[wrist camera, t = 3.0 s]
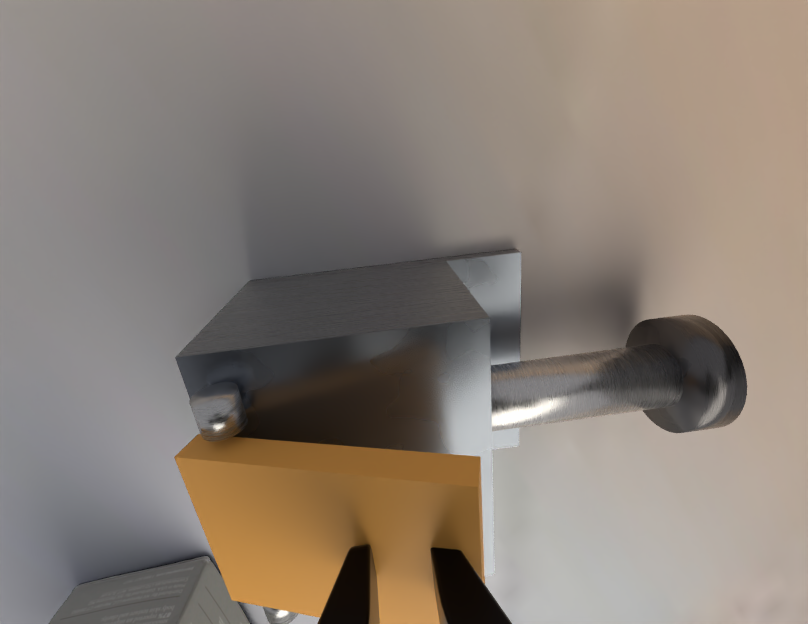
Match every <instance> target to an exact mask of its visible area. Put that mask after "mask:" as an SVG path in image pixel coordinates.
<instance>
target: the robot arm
mask: <svg viewBox="0 0 808 624" xmlns="http://www.w3.org/2000/svg"><path fill="white" fill-rule="evenodd" d="M430 551H431V561H432V570H433V580H434V589H435V596H436V602H437V609H438V615H439V621H440V624H512V623H511V622H510V620H509V619H508V617H507V616H506V614H505V613H504V612H503V610H502V609H501V607H500V606H499V604H498V603H497V601H496V600H495V599H494V597H493V596H492V594H491V593H490V591H489V590H488V588H487V587H486V586H485V584H484V583H483V581H482V580H481V578H480V577H479V575H478V574H477V573H476V571H475V570H474V568H473V567H472V565H471V564H470V562H469V561H468V560H467V558H466V557H465V555H464V554H463V552H462V551H461V550H457V549H447V548H436V547H432V548H431V549H430ZM318 624H380V618H379V602H378V587H377V576H376V570H375V564H374V559H373V553H372V548H371V546H370V545H368V544H365V545H359V546H353V547H351V548H350V549H349V551H348V553H347V555H346V557H345V560H344V562H343V565H342V567H341V569H340V572H339V574H338V576H337V579H336V581H335V583H334V586H333V588H332V591H331V593H330V595H329V598H328V600H327V602H326V605H325V607H324V609H323V612H322V614H321V617H320V619H319V621H318Z"/></svg>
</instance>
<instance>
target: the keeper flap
mask: <svg viewBox="0 0 808 624" xmlns="http://www.w3.org/2000/svg"><path fill="white" fill-rule="evenodd" d="M174 458H175V460H176V463H177V465H178V468H179V470H180V473H181V475H182V478H183V480H184V483H185V485H186V488H187V490H188V493H189V495H190V498H191V500H192V503H193V505H194V508H195V510H196V513H197V515H198V518H199V520H200V523H201V525H202V528H203V530H204V532H205V535H206V537H207V540H208V542H209V545H210V547H211V550H212V552H213V555H214V557H215V560H216V562H217V565H218V567H219V570H220V572H221V575H222V577H223V580H224V582H225V585H226V587H227V590H228V592H229V595H230V597H231V600H233V601H238V602H243V603H248V604H254V605H259V606H264V607H269V608H274V609H279V610H284V611H289V612H294V613H299V614H305V615H310V616H315V617H321V614H322V612H323V609H324V607H325V605H326V602H327V600H328V598H329V595H330V593H331V591H332V588H333V586H334V583H335V581H336V579H337V576H338V574H339V572H340V569H341V567H342V565H343V562H344V560H345V557H346V555H347V553H348V551H349V549H350V548H351V547H353V546H359V545H365V544H368V545H370V546H371V548H372V553H373V559H374V564H375V570H376V576H377V587H378V602H379V618H380V624H440V621H439V615H438V609H437V602H436V596H435V589H434V580H433V570H432V561H431V551H430V549H431V548H432V547H436V548H447V549H457V550H461V551H462V552H463V554H464V555H465V557H466V558H467V560H468V561H469V562H470V564H471V565H472V567H473V568H474V570H475V571H476V573H477V574H478V575H479V577H480V578H481V580H482V581H483V583H484V584H485V575H484V546H483V516H482V487H481V458H480V456H467V455H455V454H442V453H430V452H417V451H405V450H392V449H379V448H367V447H354V446H342V445H329V444H317V443H304V442H292V441H279V440H267V439H254V438H242V437H230V438H228V439H225V440H221V441H216V442H210V441H206V440H204V439H203V438H202V436H201V434H198V435H197V436H196V437H195V438H194V439H193V440H192V441H191V442H190V443H188V444H187V445H186V446H185V447H184V448H183V449H182V450H181V451H180V452H179V453H178V454H177V455H176V456H175V457H174Z"/></svg>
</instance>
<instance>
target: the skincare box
mask: <svg viewBox="0 0 808 624" xmlns="http://www.w3.org/2000/svg"><path fill="white" fill-rule="evenodd" d="M49 624H250V623H249V621H248V619H247V617H246V616H245V614H244V612H243V610H242V609H241V607H240V605H239V604H238V602H237V601H233V600H231V597H230V595H229V592H228V590H227V587H226V585H225V582H224V580H223V578H222V576H221V575H220V573H219V572H218V571H217V569H216V567H215V566H214V564H213V563H212V562H211V560H210V559H209V557H208V556H204V557H200V558H195V559H191V560H186V561H182V562H178V563H174V564H169V565H165V566H161V567H156V568H152V569H147V570H142V571H137V572H132V573H127V574H123V575H119V576H113V577H109V578H105V579H101V580H96V581H93V582H89V583H85V584H81V585H78V586H77V587H75V588H74V589H73V591H72V593H71V594H70V596H69V597H68V598H67V600H66V601H65V602H64V604H63V605H62V606H61V607H60V609H59V610H58V611H57V613H56V614H55V615H54V617H53V618H52V620H51V621H50V622H49Z"/></svg>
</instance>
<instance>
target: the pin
mask: <svg viewBox="0 0 808 624" xmlns="http://www.w3.org/2000/svg"><path fill="white" fill-rule="evenodd" d="M746 395H747V381H746V374H745V369H744V366H743V363H742V360H741V358H740V356H739V353H738V351H737V350H736V348H735V346H734V345H733V343H732V342H731V340H730V339H729V338H728V336H727V335H726V334H725V333H724V332H723V331H722V330H721V329H720V328H719V327H718V326H716V325H715V324H714V323H712V322H710V321H709V320H707V319H705V318H702V317H700V316H696V315H680V316H672V317H664V318H657V319H649V320H645V321H642V322H640V323H639V324H637V325H636V326H635V327H634V328H633V330H632V331H631V333H630V335H629V337H628V340H627V343H626V348H618V349H611V350H603V351H596V352H588V353H580V354H573V355H565V356H558V357H550V358H542V359H535V360H527V361H520V362H512V363H505V364H497V365H491V406H492V431H498V430H505V429H512V428H519V427H527V426H534V425H541V424H548V423H555V422H562V421H570V420H577V419H584V418H591V417H598V416H605V415H613V414H620V413H627V412H634V411H641V410H643V412H644V413H645V414H646V415H647V416H648V417H649V418H650V419H651V420H652V421H653V422H654V423H655V424H656V425H658V426H659V427H661V428H662V429H664V430H666V431H669V432H673V433H684V432H691V431H698V430H705V429H712V428H719V427H723V426H726V425H728V424H730V423H732V422H733V421H734V420H736V418H737V417H738V416H739V415H740V413H741V411H742V409H743V407H744V404H745V400H746Z"/></svg>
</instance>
